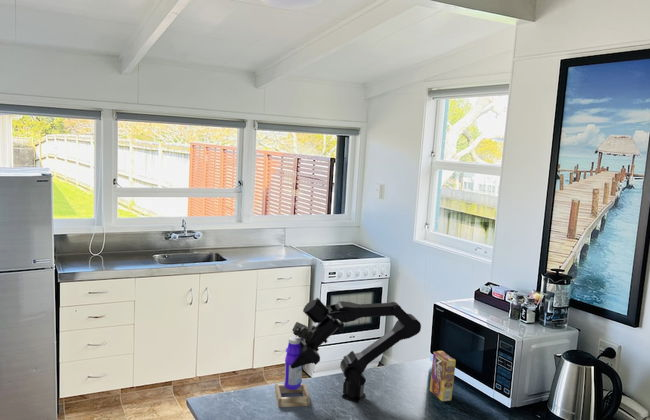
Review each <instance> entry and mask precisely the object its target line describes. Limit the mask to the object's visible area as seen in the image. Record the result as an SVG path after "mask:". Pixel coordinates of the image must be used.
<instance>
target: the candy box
mask: <svg viewBox="0 0 650 420" xmlns="http://www.w3.org/2000/svg"><path fill="white" fill-rule="evenodd" d="M456 361H457V360H456V359H455V358H453V357H452V356H450V355H449V354H447V353H446V352H445V351H443V350H437V351H433V355H432V366H431V372H430V373H431V376H430V385H429V391H430V392H431V393H432V395H434V396H436V398H438V400H440V401H441V402H449V401H452V398H453V388H454V381H455V373H456V372H455V370H456Z"/></svg>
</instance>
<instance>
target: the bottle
mask: <svg viewBox="0 0 650 420" xmlns="http://www.w3.org/2000/svg"><path fill="white" fill-rule="evenodd" d="M300 343H301V339H300V338H299V337H298V336H297V337H296V335H293V336H290V337H289V338H288V344H287V345H288V346H287V347H286V350H285V352H286V355H285V360H284V361H285V363H284V380H283V381H284V382H283V384H284V385H285V388H287V389H291V390H296V389H298V388H299V387H300V385H301V383H303V379H302V376H303V366H300V367H296V368H293V369H292V368H291V367H290V366H291V365H292V363H293V362H294V361H295V360H296V359H297V357H298V356H299V355H300V348H301V344H300ZM301 349H302V348H301Z"/></svg>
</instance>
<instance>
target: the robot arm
mask: <svg viewBox="0 0 650 420" xmlns="http://www.w3.org/2000/svg"><path fill="white" fill-rule="evenodd" d="M302 312H303V313H304V314H305V315H306V316H307V317H308V318H309V319H310V320H311V321H312V323H314V324H317V325H311V326H310V327H309V326H307V325H305V324H302V323H300V322H298V321H296V322H295V323H294V326H293V327H292V329H291V331H292V333H293V336H296V337H299V338H300V339H301V343H300V344H301V348H302V349H301V348H300V355H299V356H298V357H297V359H296V360H295V361H294V362H293V363H292V365H291V366H290V367H291V368H292V369H293V368H296V367H300V366H302V367H303V366H305V365H309V364H314V365H315V366H316V365H317V364H318V363H319V362H320V361H321V356H320V354H319V350H320V349H319V348H320V346H322V345H323V344H324V343H325V344H327V343H328V338H330V337H331V336H332V335H333V334H334V333H335V332H336V331H337V330H338V329H339V331H340V332H341V333H344V328H345V327H344V326H345V324H346V323H350V322H354V321H357V320H358V319H361V318H371V317H373V318H375V317H376V318H378V317H391V316H393V317H395V318H396V319H397V321H396V322H395V324H394V325H393V326H392V327H393V328H392V329H390V330H388V332H386V333H384V334H383V335H382V336H381V337H379V338H378V339H376V340H375V341H374V342H372V343H371V344H369V345H368V346H367V347H366V348H364V349H363V350H361V351H360V352H354V351H353V350H351V351H350V352H349V353H348V354H346V355H344V356H343V358H342V359H341V361H340V365H339V366H340V367H339V368H340V370H341V372H342V374H343V376H344V377H345V379H344V382H343V385H342V395H341V398H344V399H346V400H350V401H353V402H356V403H359V402H360V401H361V400H362V399H363V398H364V397H365V396H366V393H365V391H364V390H365V383H366V381H367V379H366V377H365V375H364V374H363V373H364V372H365V370H366V369H367V367H368V365H369V364H370V363H372V362H373V361H374V360H376V359H377V358H378V357H380V356H381V355H382V354H384V353H385V352H386V351H388V350H389V349H390V348H392V347H393V346H394V345H396V344H398V343H399V342H400V341H403V340H407V339H410V338H413V337H415V336H416V335H418V334H419V333H420V332H421V329H422V324H421V322H420V321H419V320H418V319H417V318H416V317H415V315H413V314H411V313H407V312H406V311H405V310H404V309H403V308H402V306H401V305H400V304H398V302H396V301H390V302H382V303H381V302H379V303H363V304H361V303H355V302H351V301H345V300H344V301H341V300H340V301H337V302H336V304H335V303H334V304H328V305H326V304H324V303H323V302H322V301H321V299H320V298H319V297H316V298H315V299H312V300H311V301H308V302H307V303H306V305H305V306H304V307H303V310H302ZM344 323H345V324H344Z"/></svg>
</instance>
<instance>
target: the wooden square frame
mask: <svg viewBox="0 0 650 420" xmlns="http://www.w3.org/2000/svg"><path fill="white" fill-rule="evenodd" d="M308 390H309V389H308V388H307V385H306V382H301V385H300V387H299V388H298V389H296V390H291V389H287V388H285V385H284V383H276V384H275V386H274V393H275V399H276V402H277V403H276V404H277V407H278V408H291V407H292V408H293V407H310V404H311V397H310V393H309V391H308ZM297 393H298V394H299V393H302V395H303V396H284V397H282V394H297Z"/></svg>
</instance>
